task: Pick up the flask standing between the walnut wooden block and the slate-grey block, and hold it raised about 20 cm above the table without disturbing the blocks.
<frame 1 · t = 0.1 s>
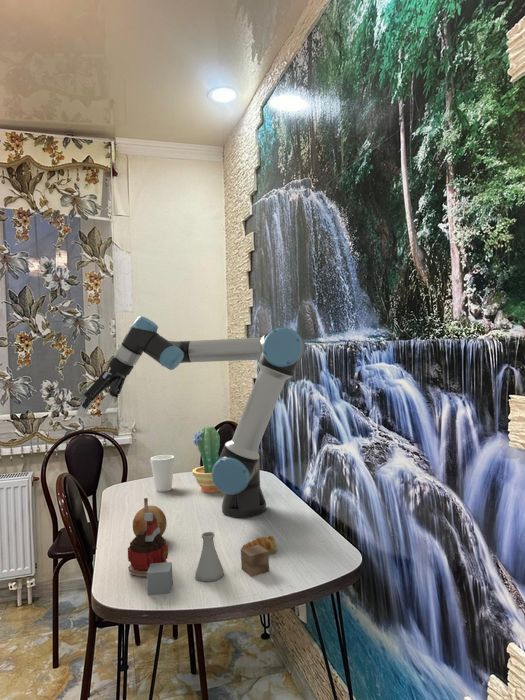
hand: (90, 413, 159), 36 cm above the table, tool tilted 35°, fingers open, 13 cm apart
pastry: (261, 553, 128), on the table
foam cup: (163, 489, 194), on the table
potted cactus: (212, 489, 191), on the table
walnut block: (255, 570, 117), on the table
cake: (148, 570, 120), on the table
slate-grey block: (160, 589, 110), on the table
flask: (209, 576, 116), on the table
onion: (150, 541, 139), on the table
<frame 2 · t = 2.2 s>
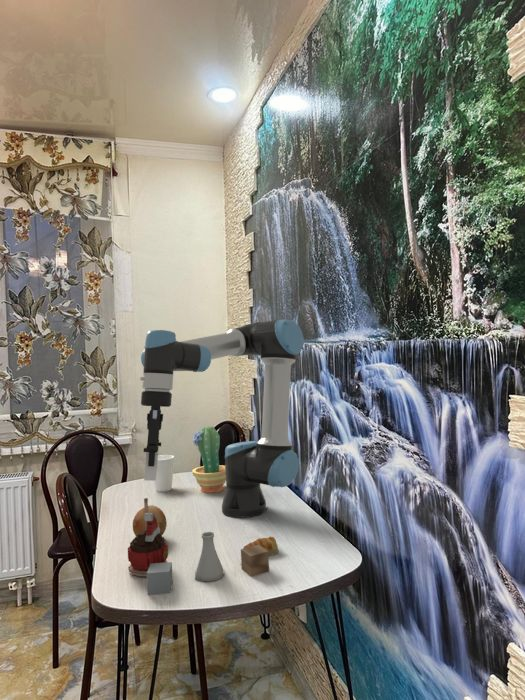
hand: (150, 475, 120), 24 cm above the table, tool pointing down, fingers open, 13 cm apart
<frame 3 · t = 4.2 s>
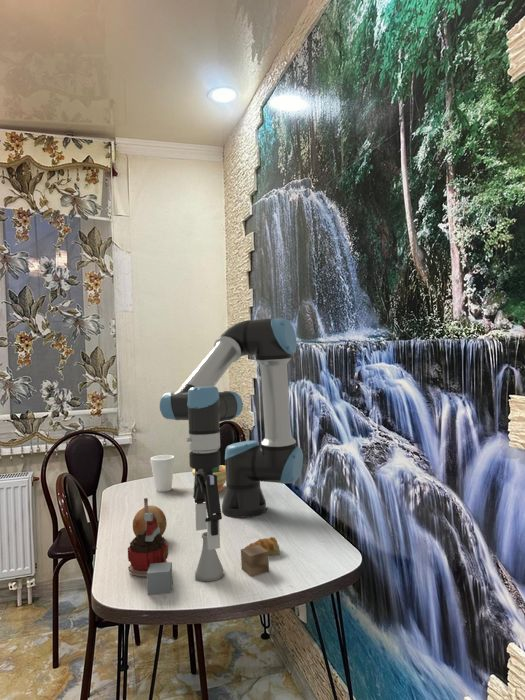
hand: (207, 538, 115), 9 cm above the table, tool pointing down, fingers open, 13 cm apart
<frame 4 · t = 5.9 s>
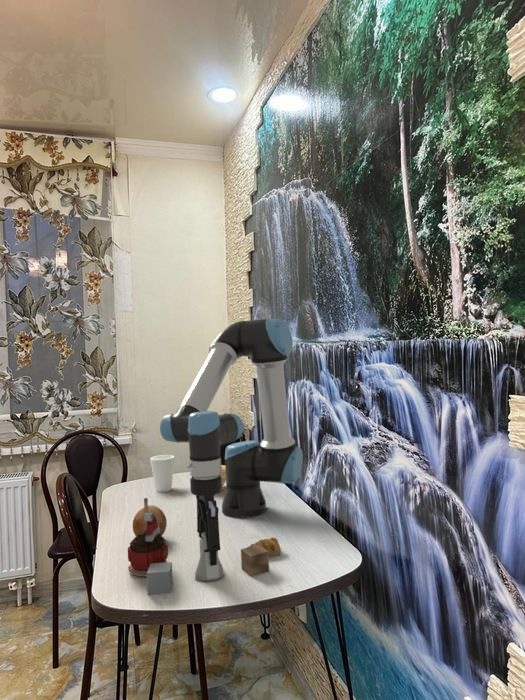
hand: (209, 570, 116), 1 cm above the table, tool pointing down, fingers closed on flask, 7 cm apart
flask: (209, 576, 116), on the table, touching gripper
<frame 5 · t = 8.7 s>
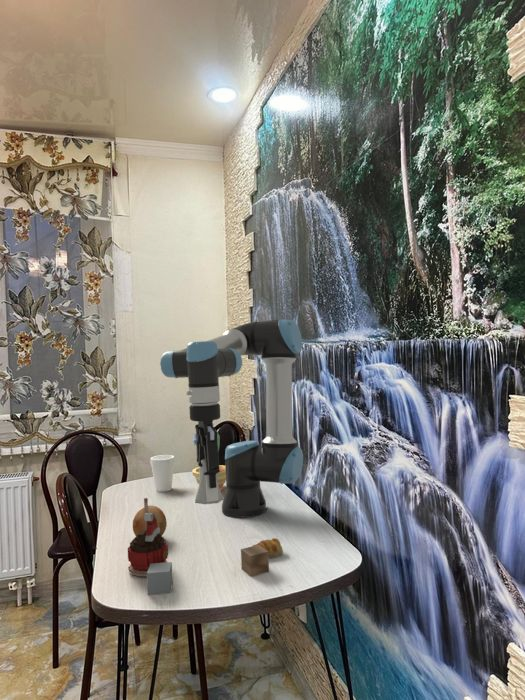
hand: (209, 496, 118), 18 cm above the table, tool pointing down, fingers closed on flask, 7 cm apart
flask: (209, 501, 118), point 17 cm above the table, touching gripper
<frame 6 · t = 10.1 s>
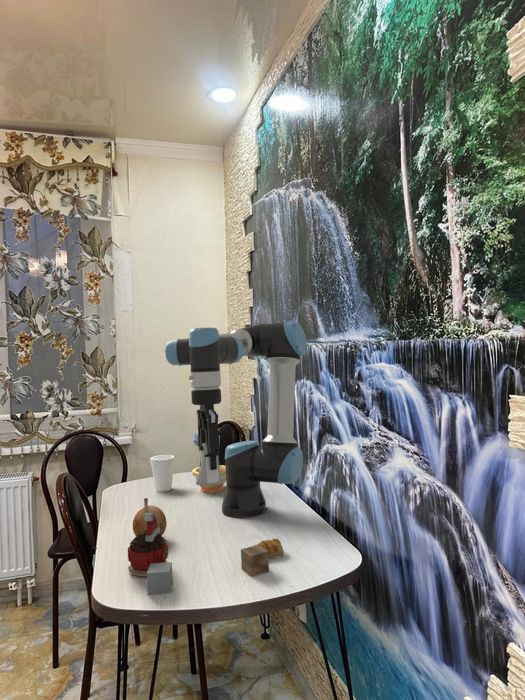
hand: (209, 478, 121), 22 cm above the table, tool pointing down, fingers closed on flask, 7 cm apart
flask: (209, 483, 121), point 21 cm above the table, touching gripper
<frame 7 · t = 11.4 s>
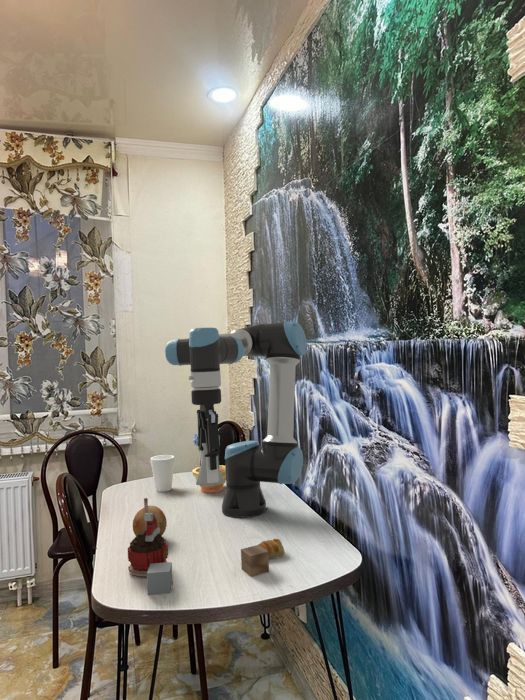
hand: (209, 478, 121), 22 cm above the table, tool pointing down, fingers closed on flask, 7 cm apart
flask: (209, 483, 121), point 21 cm above the table, touching gripper
at the end: flask point 20.7 cm above the table; walnut block moved 0.1 cm from its start; slate-grey block moved 0.1 cm from its start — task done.
